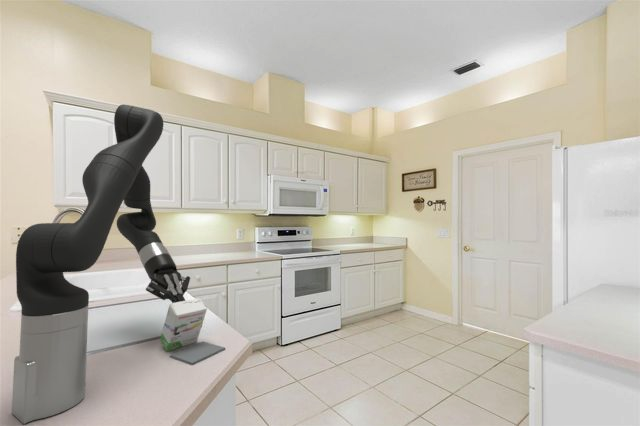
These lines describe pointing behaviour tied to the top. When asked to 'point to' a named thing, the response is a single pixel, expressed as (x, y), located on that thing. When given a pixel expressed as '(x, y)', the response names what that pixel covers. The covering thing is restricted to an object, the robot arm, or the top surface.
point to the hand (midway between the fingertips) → (182, 307)
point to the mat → (197, 352)
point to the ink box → (183, 323)
